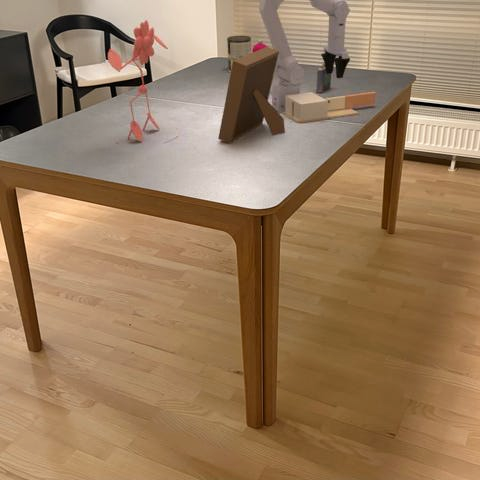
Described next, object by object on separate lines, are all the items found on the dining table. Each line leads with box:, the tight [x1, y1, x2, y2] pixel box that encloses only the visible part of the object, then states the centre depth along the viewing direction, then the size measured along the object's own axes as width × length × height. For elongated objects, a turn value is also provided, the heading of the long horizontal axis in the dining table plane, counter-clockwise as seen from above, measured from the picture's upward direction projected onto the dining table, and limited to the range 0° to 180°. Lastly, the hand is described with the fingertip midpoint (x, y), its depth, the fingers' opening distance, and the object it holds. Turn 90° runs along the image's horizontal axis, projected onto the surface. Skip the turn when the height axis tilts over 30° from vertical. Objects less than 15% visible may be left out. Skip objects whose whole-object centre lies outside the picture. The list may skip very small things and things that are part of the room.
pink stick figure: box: [107, 20, 179, 145], centre depth 186 cm, size 15×26×35 cm, turn 156°
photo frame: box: [218, 46, 286, 144], centre depth 188 cm, size 15×22×25 cm
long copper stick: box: [324, 91, 377, 111], centre depth 214 cm, size 20×1×4 cm, turn 111°
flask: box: [316, 61, 332, 94], centre depth 237 cm, size 9×3×11 cm, turn 146°
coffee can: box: [226, 35, 252, 73], centre depth 268 cm, size 10×10×14 cm
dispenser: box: [282, 91, 359, 124], centre depth 211 cm, size 23×12×6 cm, turn 111°
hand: (334, 75), depth 221 cm, fingers open, 7 cm apart
